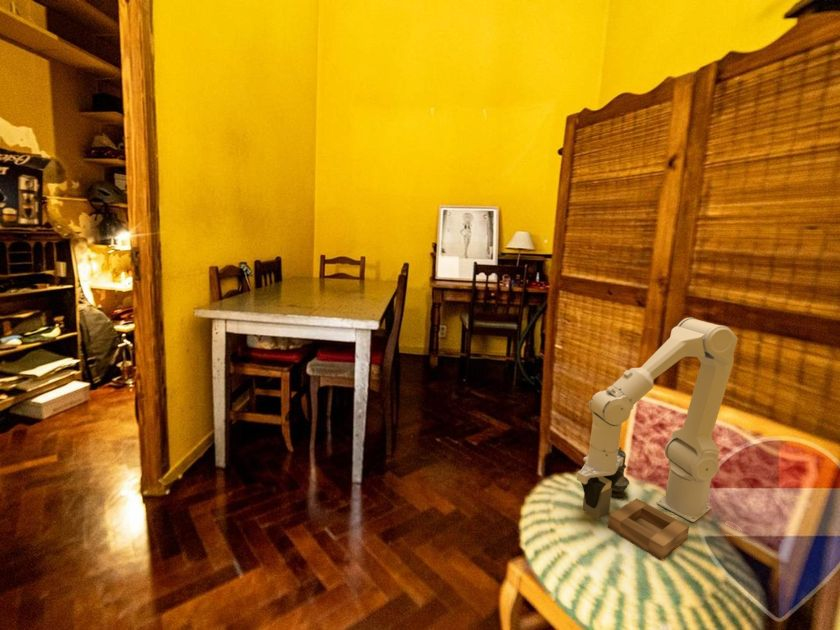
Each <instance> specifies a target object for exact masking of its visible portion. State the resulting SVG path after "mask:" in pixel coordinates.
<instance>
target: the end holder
mask: <svg viewBox="0 0 840 630" xmlns="http://www.w3.org/2000/svg"><path fill="white" fill-rule="evenodd" d="M607 528H608V529H610V530H611V531H613V532H614V533H616V534H618V535H619V536H621V537H623V538H624V539H625V540H627V541H629V542H631V543H632V544H633V545H635V546H637V547H639V549H641V550H643V551H645V552H646V553H648V554H650V555H651V556H653V557H655V558H656V559H658V560H660V561H662V560H663V559H664V558H667V556H668V555H670V554H671V553H672V552H673V551H675V550H676V549H677V548H678V547H679V546H680V545H682V544H683V543H685V541H686V540H688V535H689V531H690V525H688V524H686V523H684V522H682V521H680V520H679V519H677V518H675V517H673V516H671V515H669V514H667V513H666V512H664V511H662V510H659V509H658V508H656V507H654V506H652V505H650V504H648V503H646V502H644V501H642V500H641V499H639V498H634V499H633V500H631V501H630V502H628V503H626V504H625V505H623V506H621V507H620V508H619V509H616V510H615V511H612V513H609V514H608V524H607Z"/></svg>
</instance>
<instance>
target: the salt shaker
mask: <svg viewBox="0 0 840 630" xmlns="http://www.w3.org/2000/svg"><path fill="white" fill-rule="evenodd" d="M622 449H623V448H622V447H621V446H619V447H618V456H620V457H623V458H624V459H623V466H619V467H618V469H617V470H618V471H620V472H621V473H622V477H621V478H620V479H619V480H618V481H617V483H616V484H615V486H614V488H613V490H612V493H611V499H616V498H617V499H618V500H621V499H620V498H623V499H625V498H626V497H627V493H626V492H625V490H626V489H627V488H628V486H629V485H630V480H629V479H628V478H627V477H626V476H625V470H626V469H627V465H626V464H625V463H626V458H627V454H626V452H625V451H624V450H622ZM617 499H616V500H617Z"/></svg>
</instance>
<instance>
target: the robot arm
mask: <svg viewBox="0 0 840 630" xmlns="http://www.w3.org/2000/svg"><path fill="white" fill-rule="evenodd" d="M669 336H670V337H669V338H668V339H667V340H666V341H665V342H664V343H663V344H662V345H661V346H660V347H659V348H658V349H657V350H656V351H655V352H654V353H653V354H652V355H651V356H650V357H649V358H648V359H647V361H646V362H644V363H643V365H642V366H640V367H631V368H629V369H626V370H625V371H624V372H623V373H622V374H623V375H622V376H621V377H619V378H618V379H617V380H616V381H615V382H613V383H612V385H610V386H608V387H607V388H606V389H605V390H600V391H598V392H596V393H595V394H594V395H593V396H592V398H591V400H589V401H588V406H589V410H590V411H591V413H592V418H591V419H592V424H591V433H590V438H589V449H588V455H586V456H584V457H583V459H582V460H583V462H584V465H583V466H582V468H581V469H580V470H579V471H577V475H576V476H577V477H576V481H578V482H580V484H581V485H582V490H583V496H584V495H585V501H586V504H587V505H589V506H590V507H592V508H596V506H597V503H598V499H599V495H600V493H601V491H602V489H603V487H604V486H605V485H606V484H605V483H603V482H601V481H600V480H599V478H598V477H600V476H603V477H605V478H607V479H608V480H610V481H612V483H611V488H612V490H613V488H614V486H615V484H616V483H617V481H618V480H619V479H620V478H621V477H622V473H621V472H620V471H618V470H617V469H618V467H619V466H623V459H624V458H623V457H620V456H618V449H619V447H620V446H619V445H620V439H621V432H622V425H623V423H624V422H627V421H628V419H629V418H630V415H631V411H632V410H633V409H634V406H635V405H636V403H637V402H640V400H642V399H643V397H645V396H646V395H647V394H648V393H649V392H650V391H652V390H653V389H654V380H655V379H657V377H659V376H660V375H661V374H663V373H665V371H667V370H668V369H670V368H671V367H673V365H675V364H677V363H678V362H679V361H680V360H682V359H683V358H685V357H686V358H687V357H690V358H691V357H693V358H694V357H695V358H697V359H698V360H699V362H700V367H699V371H698V374H697V378H696V381H695V384H694V388H693V391H692V396H691V398H690V401H689V402H690V403H689V406H688V408H687V409H688V410H687V414H686V416H685V419H684V420H685V421H684V423H683V427H682V428H679V429H676V430H673V432H672V434H671V437H670V439H669V440H668V442H667V443H666V444H665V447H664V455H665V457H666V458H667V459H668V466H669V471H668V472H669V473H668V477H667V485H666V489H665V496H663V497H662V498H661V499H659V500H657V502H656V504H657V505H658V506H660V507H662V508H664V509H666V510H668V511H670V512H672V513H673V514H675V515H677V516H678V517H679V516H680V517H681V518H684V519H685V520H686V521H690V522H691V523H695V522H696V521H697V520H699V519H700V518H702V517H703V516H704V515H705V514H706V513H708V512H709V511H710V510H712V507H711V506H710V505H708V500H709V494H710V489H711V483H712V482H711V481H712V479H713V478H715V476H716V475H717V474H718V471H719V469H720V466H719V465H720V463H719V455H720V450H719V448H718V446H717V445H716V443H715V441H714V440H713V433H714V430H715V426H716V422H717V420H718V416H719V413H720V409H721V406H722V403H723V400H724V396H725V393H726V389H727V385H728V381H729V380H730V376H731V372H732V369H733V365H734V362H735V361H734V360H735V359H734V353H735V351H736V350H735V349H736V346H737V343H738V340H739V339H738V337H737V335H736V334H735V333H734V332H733V330H732V329H731V328H730V327H729V326H726V325H719V324H715V323H712V322H707V321H704V320H699V319H697V318H695V317H687V318H683V319H682V320H681V321H680V322H679V323H678V324H677V325H676V326H674V327H673V328H672V329H671V332H670V335H669Z"/></svg>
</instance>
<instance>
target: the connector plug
mask: <svg viewBox="0 0 840 630" xmlns="http://www.w3.org/2000/svg"><path fill="white" fill-rule="evenodd" d="M598 478H599V480H600V481H601V482H603V483H605V484H606V485H605V486H604V487H603V489H602V491H601V493H600V495H599V499H598V503H597V506H596V508H592V507H590V506H589V505H587V504H586V501H585V495H584V494H583V501H582V509H581V510H582V511H583V512H584V513H586V514H588V515H589V516H591V517H593V518H594V519H596V520H597V521H599V520H601V519H603V518H604V517H606V516H609V515H610V506H611V499H612V497H611V493H612V488H611V483H612V481H610V480H608V479H607V478H605V477H603V476H600V477H598ZM602 517H603V518H602Z"/></svg>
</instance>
